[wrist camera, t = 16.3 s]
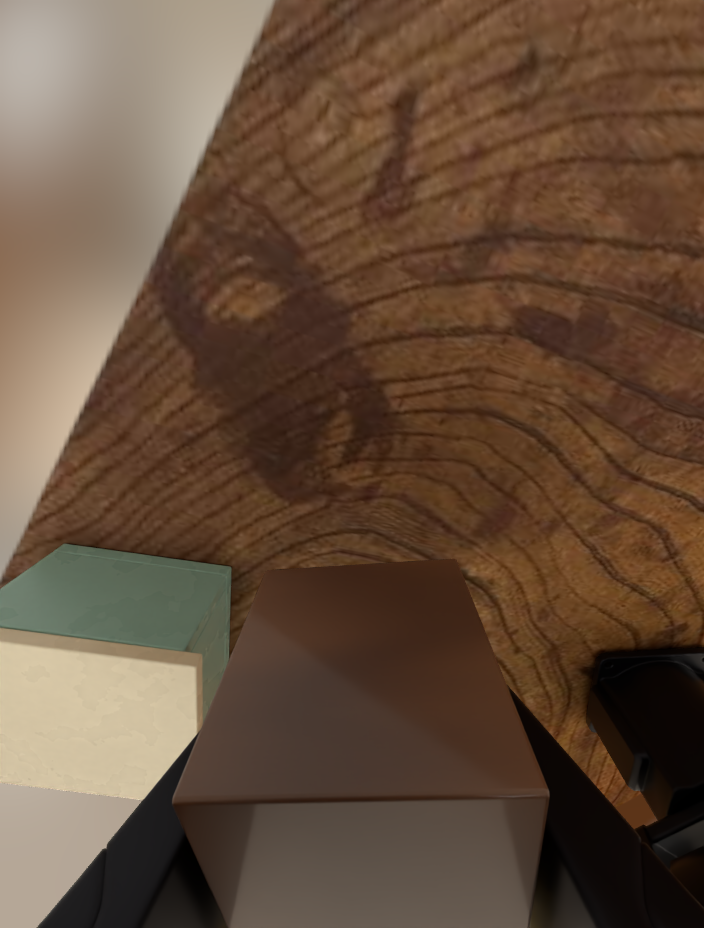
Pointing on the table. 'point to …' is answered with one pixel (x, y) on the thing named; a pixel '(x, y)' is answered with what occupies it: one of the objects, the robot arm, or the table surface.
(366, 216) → the table surface
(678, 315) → the table surface
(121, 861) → the robot arm
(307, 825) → the block
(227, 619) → the green boxy piece
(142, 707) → the lid
